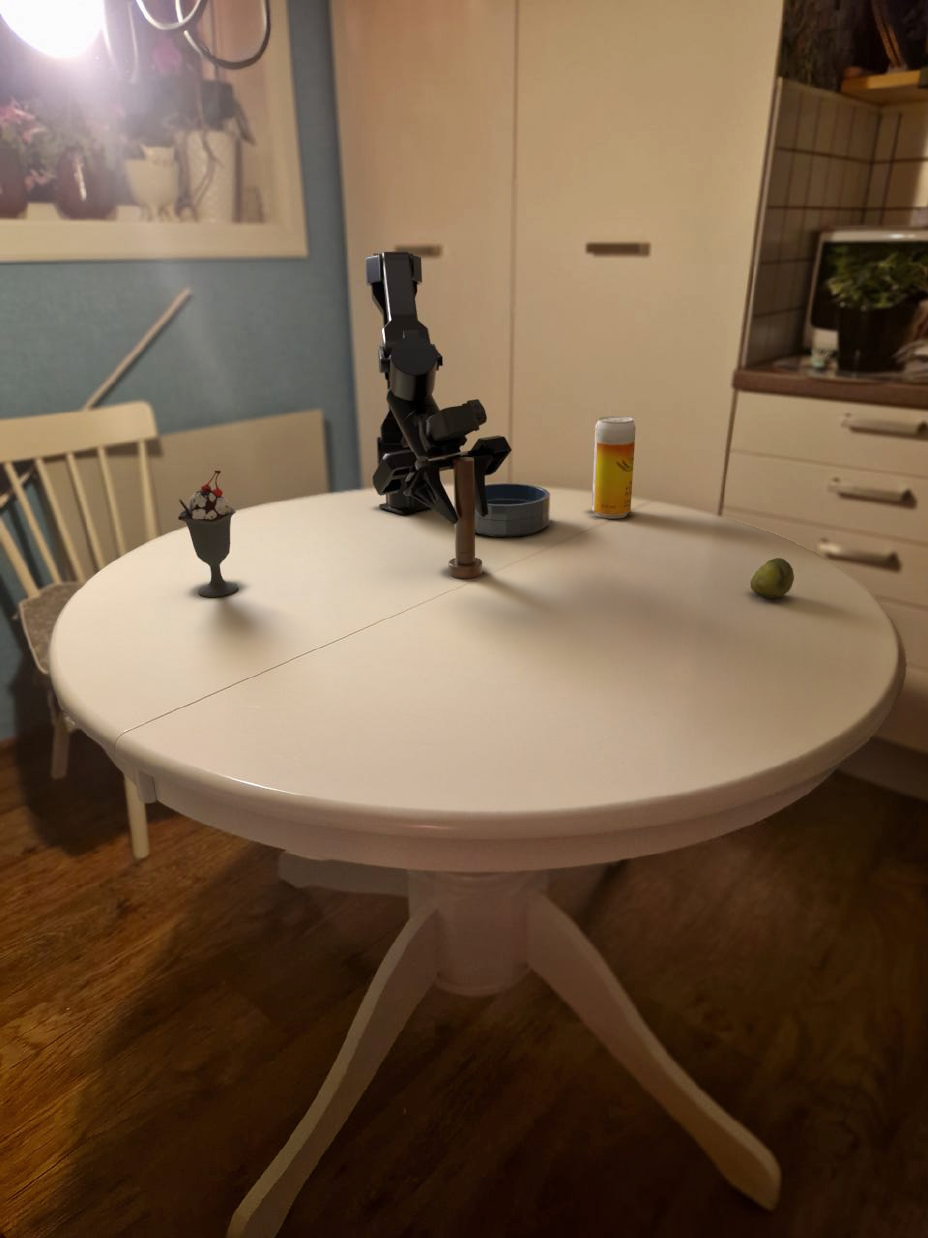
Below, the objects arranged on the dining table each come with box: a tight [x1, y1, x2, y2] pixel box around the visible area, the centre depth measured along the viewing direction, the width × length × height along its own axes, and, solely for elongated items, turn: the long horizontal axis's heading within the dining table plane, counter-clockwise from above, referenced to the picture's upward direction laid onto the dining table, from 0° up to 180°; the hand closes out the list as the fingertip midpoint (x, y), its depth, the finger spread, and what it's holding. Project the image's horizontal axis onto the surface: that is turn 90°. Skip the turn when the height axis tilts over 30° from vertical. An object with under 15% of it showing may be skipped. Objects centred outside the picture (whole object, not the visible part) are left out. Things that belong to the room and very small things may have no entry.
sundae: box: [177, 470, 239, 598], centre depth 106 cm, size 7×7×15 cm
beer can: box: [591, 415, 637, 519], centre depth 135 cm, size 6×6×15 cm
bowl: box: [475, 482, 551, 538], centre depth 132 cm, size 13×13×5 cm
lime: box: [750, 557, 795, 599], centre depth 102 cm, size 4×5×5 cm
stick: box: [448, 457, 483, 579], centre depth 111 cm, size 4×4×15 cm
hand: (471, 519), depth 109 cm, fingers open, 4 cm apart
